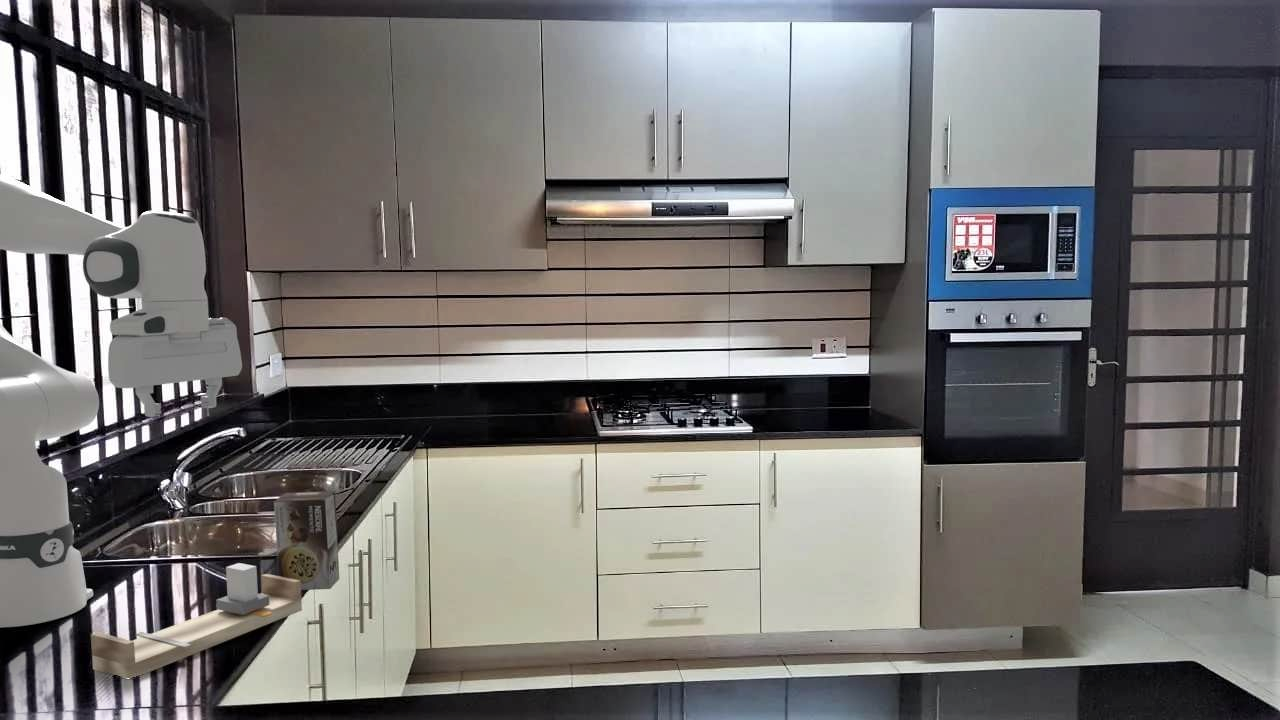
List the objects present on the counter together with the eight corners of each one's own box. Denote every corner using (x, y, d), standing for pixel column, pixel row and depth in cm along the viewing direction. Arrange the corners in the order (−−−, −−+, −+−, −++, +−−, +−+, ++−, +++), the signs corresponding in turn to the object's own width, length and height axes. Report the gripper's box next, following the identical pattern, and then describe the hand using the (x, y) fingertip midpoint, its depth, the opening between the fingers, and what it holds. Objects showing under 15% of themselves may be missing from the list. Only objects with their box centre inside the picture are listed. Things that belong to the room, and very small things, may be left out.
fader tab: (216, 609, 150) (214, 568, 149) (243, 599, 154) (241, 560, 154) (243, 615, 147) (241, 573, 147) (269, 604, 152) (267, 564, 151)
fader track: (86, 667, 134) (84, 632, 134) (261, 601, 161) (259, 572, 160) (136, 681, 129) (134, 646, 129) (308, 611, 156) (307, 581, 155)
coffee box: (340, 578, 173) (336, 490, 171) (330, 590, 166) (326, 498, 165) (289, 579, 172) (285, 491, 171) (277, 591, 166) (272, 499, 164)
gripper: (221, 316, 154) (226, 402, 155) (98, 323, 136) (104, 419, 137) (248, 317, 151) (253, 404, 152) (126, 323, 133) (132, 422, 134)
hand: (181, 411), depth 145 cm, fingers open, 8 cm apart
